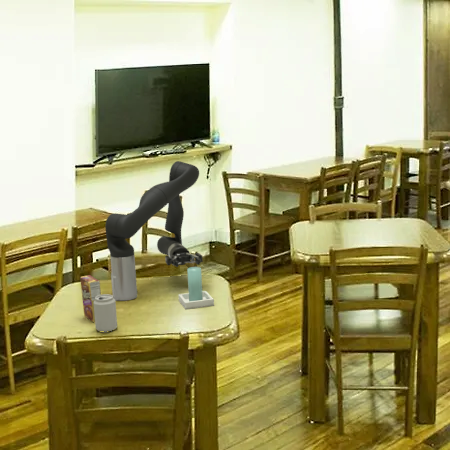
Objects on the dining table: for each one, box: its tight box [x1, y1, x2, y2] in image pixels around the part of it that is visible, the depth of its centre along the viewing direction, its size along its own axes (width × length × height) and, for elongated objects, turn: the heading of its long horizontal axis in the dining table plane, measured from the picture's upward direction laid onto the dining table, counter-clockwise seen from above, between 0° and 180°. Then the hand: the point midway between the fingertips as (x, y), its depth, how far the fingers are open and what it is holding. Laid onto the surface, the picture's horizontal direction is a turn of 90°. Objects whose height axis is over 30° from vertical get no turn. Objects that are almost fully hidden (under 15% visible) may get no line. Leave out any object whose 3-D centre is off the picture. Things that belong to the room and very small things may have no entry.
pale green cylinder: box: [186, 266, 203, 302], centre depth 289 cm, size 5×5×13 cm
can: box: [94, 293, 118, 333], centre depth 266 cm, size 8×8×12 cm
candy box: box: [79, 274, 102, 323], centre depth 277 cm, size 9×4×15 cm, turn 33°
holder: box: [178, 290, 215, 310], centre depth 291 cm, size 11×11×2 cm
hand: (188, 263), depth 298 cm, fingers open, 8 cm apart
